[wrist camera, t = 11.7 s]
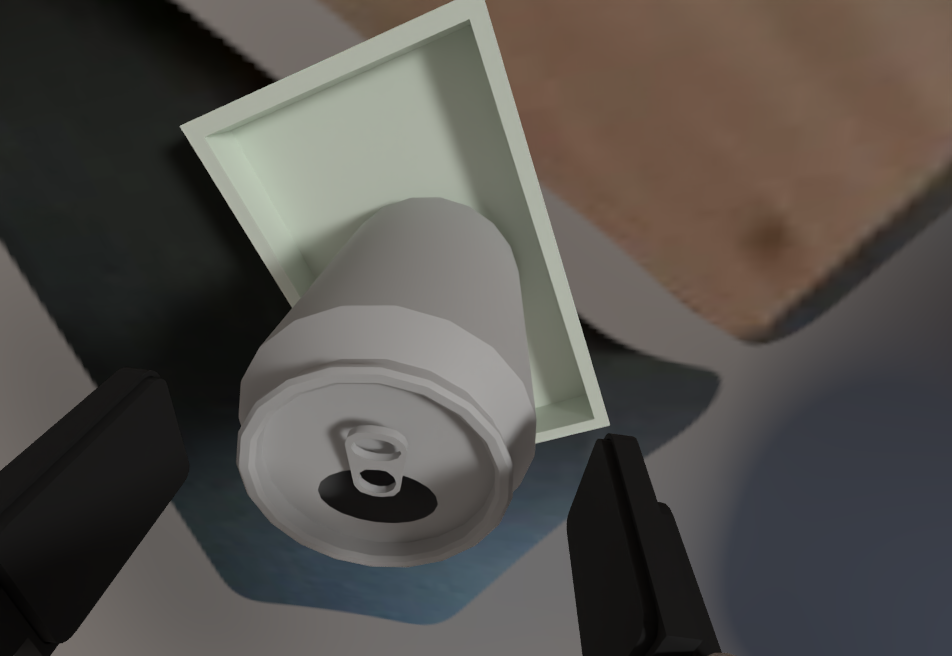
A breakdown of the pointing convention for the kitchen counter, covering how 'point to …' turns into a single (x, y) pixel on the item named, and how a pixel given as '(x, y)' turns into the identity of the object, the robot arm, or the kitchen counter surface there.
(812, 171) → the kitchen counter surface
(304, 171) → the tray
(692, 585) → the robot arm
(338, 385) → the can
